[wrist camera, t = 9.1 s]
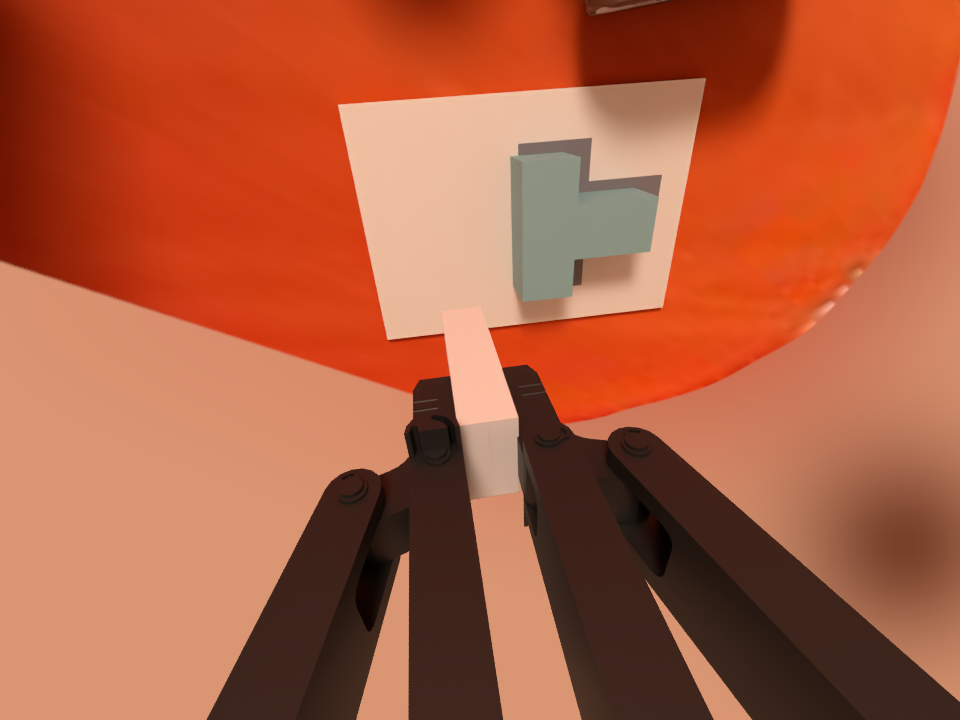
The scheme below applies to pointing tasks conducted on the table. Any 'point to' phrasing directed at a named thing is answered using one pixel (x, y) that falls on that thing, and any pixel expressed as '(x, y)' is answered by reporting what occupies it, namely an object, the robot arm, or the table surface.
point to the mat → (487, 194)
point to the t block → (569, 223)
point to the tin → (616, 5)
